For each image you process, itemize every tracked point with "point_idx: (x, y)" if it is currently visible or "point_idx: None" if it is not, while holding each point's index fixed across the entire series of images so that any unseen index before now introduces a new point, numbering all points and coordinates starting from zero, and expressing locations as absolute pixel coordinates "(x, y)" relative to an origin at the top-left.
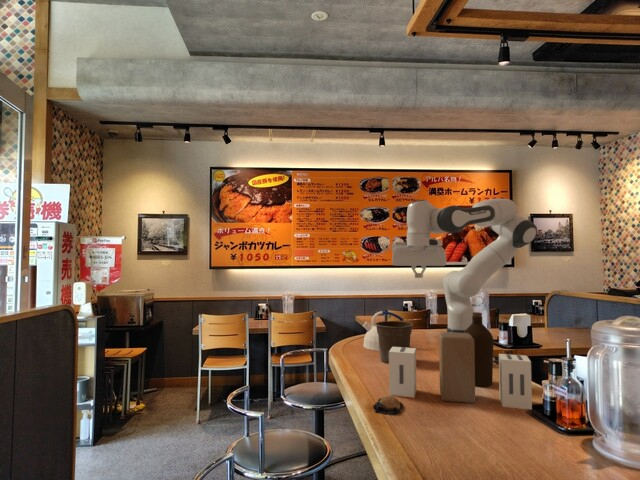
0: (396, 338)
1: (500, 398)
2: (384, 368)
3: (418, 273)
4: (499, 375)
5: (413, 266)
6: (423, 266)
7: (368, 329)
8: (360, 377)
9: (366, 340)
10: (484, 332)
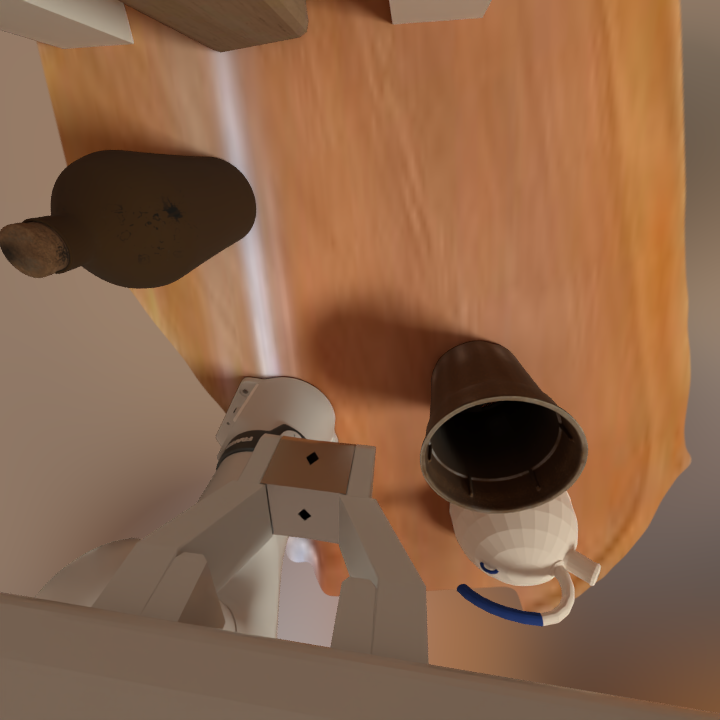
0: (482, 380)
1: (119, 5)
2: (509, 281)
3: (304, 486)
4: (71, 8)
5: (380, 640)
6: (137, 604)
7: (574, 552)
8: (609, 126)
9: (570, 508)
10: (58, 183)
